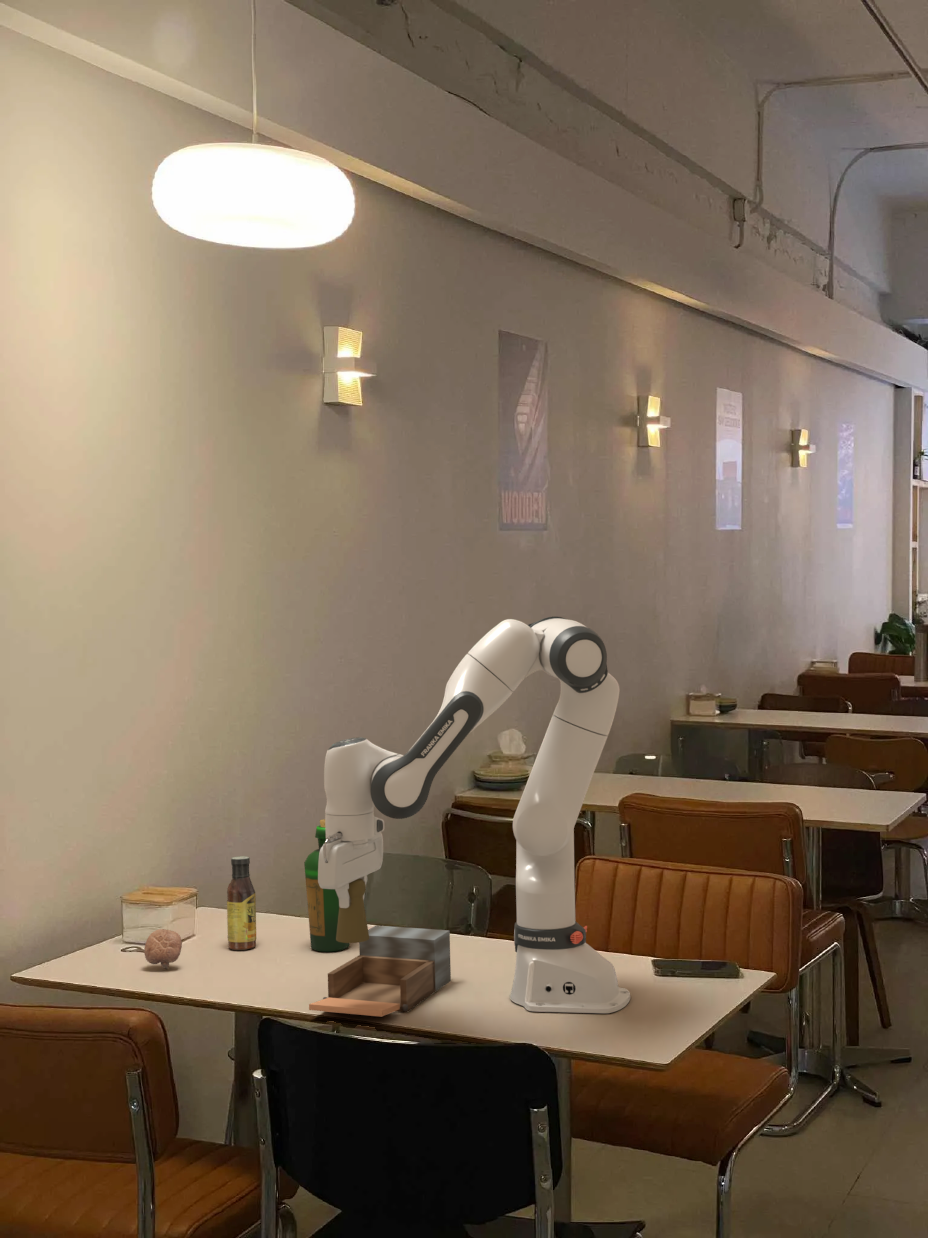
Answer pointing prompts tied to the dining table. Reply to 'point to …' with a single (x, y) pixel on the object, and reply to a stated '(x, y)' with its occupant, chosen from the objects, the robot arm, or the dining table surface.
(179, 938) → the brown rounded lump
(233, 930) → the sauce bottle
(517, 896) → the robot arm
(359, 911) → the cork
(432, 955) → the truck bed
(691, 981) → the dining table surface
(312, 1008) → the wooden board
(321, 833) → the bottle
